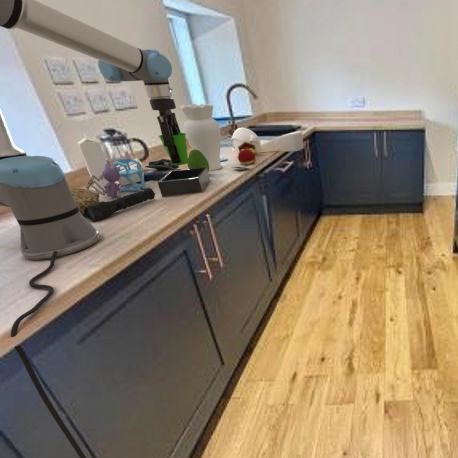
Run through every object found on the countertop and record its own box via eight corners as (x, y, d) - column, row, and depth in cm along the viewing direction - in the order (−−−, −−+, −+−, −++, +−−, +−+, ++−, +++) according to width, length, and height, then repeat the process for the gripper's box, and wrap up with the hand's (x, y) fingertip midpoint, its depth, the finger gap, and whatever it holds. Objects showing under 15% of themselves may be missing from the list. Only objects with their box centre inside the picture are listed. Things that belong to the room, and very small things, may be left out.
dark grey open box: (202, 192, 134) (198, 177, 132) (162, 196, 130) (157, 182, 128) (210, 180, 149) (206, 167, 147) (174, 184, 146) (170, 170, 143)
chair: (134, 192, 136) (123, 161, 131) (118, 191, 138) (106, 161, 133) (151, 186, 143) (142, 157, 138) (135, 185, 145) (125, 156, 140)
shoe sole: (239, 153, 200) (235, 134, 196) (249, 148, 212) (246, 131, 207) (301, 151, 197) (298, 133, 193) (308, 147, 209) (305, 129, 205)
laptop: (230, 169, 163) (230, 165, 162) (240, 169, 168) (240, 165, 167) (240, 171, 159) (239, 167, 159) (250, 171, 164) (250, 166, 164)
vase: (227, 170, 164) (211, 104, 152) (192, 174, 160) (173, 106, 148) (230, 163, 177) (216, 102, 165) (198, 166, 173) (181, 104, 161)
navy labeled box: (181, 168, 159) (166, 174, 150) (183, 175, 161) (168, 181, 152) (143, 168, 161) (126, 174, 152) (145, 174, 162) (128, 180, 153)
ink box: (114, 177, 142) (115, 163, 149) (122, 187, 145) (122, 173, 153) (137, 170, 144) (137, 157, 152) (144, 180, 148) (144, 166, 155)
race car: (156, 165, 151) (155, 155, 151) (142, 167, 152) (141, 156, 152) (182, 169, 166) (181, 160, 166) (169, 171, 167) (168, 161, 167)
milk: (99, 193, 137) (75, 136, 128) (95, 190, 141) (72, 134, 132) (117, 189, 141) (95, 133, 132) (114, 186, 145) (92, 132, 136)
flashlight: (86, 221, 110) (80, 206, 108) (148, 199, 128) (143, 186, 126) (97, 222, 109) (91, 207, 107) (158, 200, 126) (153, 187, 124)
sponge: (68, 209, 124) (40, 216, 106) (66, 187, 123) (37, 190, 105) (114, 209, 130) (95, 216, 112) (113, 188, 128) (93, 191, 111)
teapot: (251, 154, 204) (237, 166, 196) (231, 131, 196) (216, 143, 189) (274, 143, 188) (259, 156, 180) (253, 118, 180) (237, 130, 173)
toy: (232, 157, 186) (217, 161, 177) (232, 159, 186) (218, 163, 178) (212, 156, 190) (197, 160, 182) (212, 157, 191) (197, 162, 182)
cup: (182, 166, 131) (173, 136, 126) (161, 166, 133) (152, 136, 128) (199, 161, 139) (191, 132, 134) (179, 160, 141) (171, 132, 136)
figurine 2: (241, 160, 184) (239, 170, 171) (236, 141, 178) (233, 150, 166) (258, 157, 186) (257, 167, 173) (253, 139, 181) (252, 148, 168)
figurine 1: (98, 195, 127) (96, 163, 128) (113, 198, 134) (111, 168, 135) (114, 193, 127) (111, 161, 128) (128, 196, 134) (125, 166, 135)
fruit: (198, 174, 159) (191, 147, 154) (215, 174, 158) (208, 147, 153) (187, 179, 152) (179, 151, 147) (204, 179, 151) (196, 151, 146)
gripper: (164, 99, 118) (184, 165, 127) (180, 95, 136) (196, 154, 145) (139, 100, 116) (160, 168, 125) (158, 96, 134) (175, 156, 143)
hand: (179, 160), depth 135 cm, fingers closed on cup, 8 cm apart
